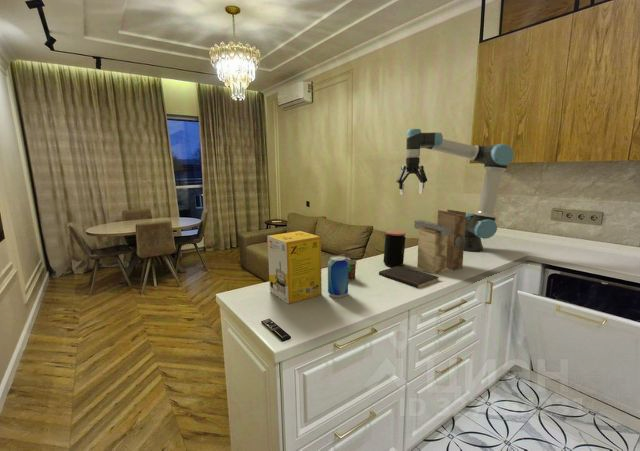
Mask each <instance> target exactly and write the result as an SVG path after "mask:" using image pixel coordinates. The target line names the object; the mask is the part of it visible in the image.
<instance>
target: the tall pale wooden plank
mask: <svg viewBox="0 0 640 451" xmlns="http://www.w3.org/2000/svg"><path fill="white" fill-rule="evenodd" d="M436 233H437V231H433V230H429V229H425V228H421V227H419V229H418V240H417V241H418V242H417V245H418V247H417V263H416V264H417V268H419V269H421V270H423V271H426V272H427V273H429V274H431V275H435V274H440V273H441V274H442V273H446V272H447V268H446V260H447V243H448V235H445V236H443V235H440V234H436Z"/></svg>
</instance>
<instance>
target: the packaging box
mask: <svg viewBox="0 0 640 451" xmlns="http://www.w3.org/2000/svg"><path fill="white" fill-rule="evenodd" d="M321 239H322V238H321V236H320V235H316V234H312V233H309V232H306V231H302V230H295V231H291V232H284V233H278V234H270V235H267V255H268V257H267V259H268V260H267V261H268V277H269V279H268V280H269V281H268V282H269V292H270V291H271V292H272V293H271V292H270V293H271V294H273V293H274V294H275V295H274V294H273V295H274V296H275V297H277V296H278V297H277V298H279V299H280V298H281V299H282V300H281V299H280V300H281V301H283V302H284V301H285V302H284V303H286V304H287V303H288V305H290V304H292V302H294V303H296V302H295V301H297V302H299V300H301V301H303V299H304V300H308V299H310V298H313V297H317V296H320V295H322V293H323V292H322V291H323V290H322V287H323V286H322V240H321ZM289 303H290V304H289Z"/></svg>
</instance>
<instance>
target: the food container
mask: <svg viewBox="0 0 640 451" xmlns="http://www.w3.org/2000/svg"><path fill="white" fill-rule="evenodd" d="M339 256H344V257H345V258H346V261H347V262H348V279H349V280H350V281H352V280H353V281H354V280H356V268H357V267H356V266H357V259H352V258H351V257H349V256H346V253H343V254H340V255H339ZM349 280H348V281H349Z"/></svg>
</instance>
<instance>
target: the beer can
mask: <svg viewBox="0 0 640 451" xmlns="http://www.w3.org/2000/svg"><path fill="white" fill-rule="evenodd" d="M327 293H328V294H329V296H330V297H332V298H337V299H340V298H344V297H346V296H347V294H348V293H349V280H348V262H347V261H346V258H345V257H344V256H340V255H332V256H329V260H328V261H327Z"/></svg>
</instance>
